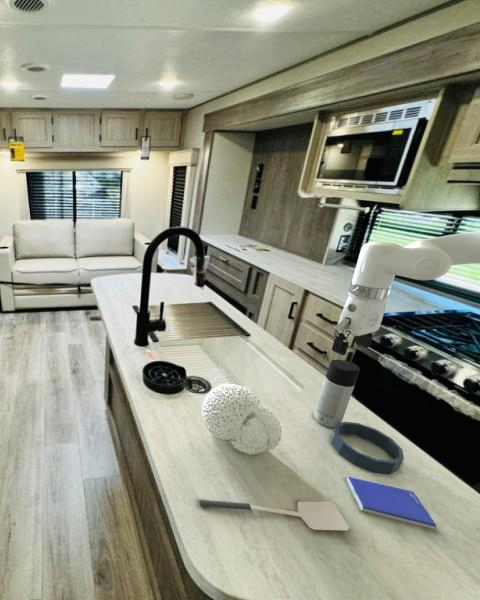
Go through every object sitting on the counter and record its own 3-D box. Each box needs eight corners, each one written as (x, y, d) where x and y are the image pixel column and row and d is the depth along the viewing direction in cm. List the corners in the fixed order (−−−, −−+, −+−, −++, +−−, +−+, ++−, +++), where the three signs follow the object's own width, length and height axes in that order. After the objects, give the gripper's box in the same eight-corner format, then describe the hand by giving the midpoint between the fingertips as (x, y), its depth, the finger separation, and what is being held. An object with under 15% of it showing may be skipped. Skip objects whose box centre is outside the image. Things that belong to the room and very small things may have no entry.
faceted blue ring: (351, 427, 92) (355, 416, 91) (410, 464, 80) (415, 452, 79) (319, 440, 88) (323, 429, 86) (376, 481, 76) (382, 469, 74)
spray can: (345, 429, 91) (366, 372, 84) (320, 427, 92) (338, 370, 85) (332, 413, 97) (351, 359, 90) (308, 411, 99) (325, 357, 91)
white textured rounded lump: (188, 419, 85) (228, 374, 82) (192, 407, 101) (226, 369, 98) (254, 480, 77) (301, 432, 75) (248, 457, 93) (286, 417, 90)
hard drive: (413, 490, 72) (348, 475, 76) (436, 525, 65) (363, 506, 69) (410, 495, 72) (346, 480, 76) (434, 530, 65) (361, 511, 69)
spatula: (348, 534, 65) (350, 530, 64) (202, 517, 69) (203, 512, 68) (331, 506, 71) (332, 501, 70) (196, 491, 75) (197, 487, 74)
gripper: (363, 300, 74) (344, 362, 80) (407, 290, 79) (386, 349, 85) (330, 291, 80) (314, 349, 87) (372, 282, 86) (355, 337, 92)
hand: (350, 349), depth 86 cm, fingers open, 9 cm apart
